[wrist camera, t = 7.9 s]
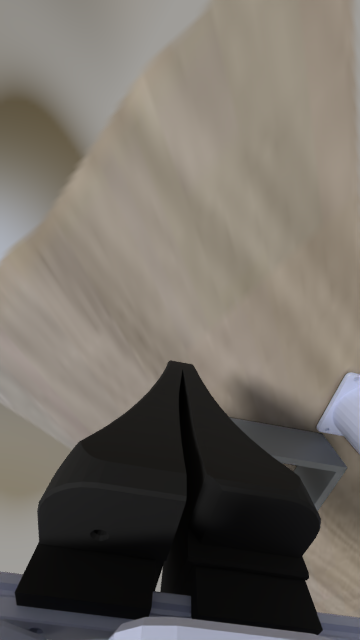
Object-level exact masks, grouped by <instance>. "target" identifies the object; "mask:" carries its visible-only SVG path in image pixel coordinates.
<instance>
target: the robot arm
mask: <svg viewBox="0 0 360 640" xmlns="http://www.w3.org/2000/svg"><path fill="white" fill-rule="evenodd" d="M316 428H317V430H318V431H319V432H324V433H329V434H335V435H341V436H344V437H345V438H346V439H347V440H348V441H349V443H350V444H351V445H352V446H353V447H354V449H355V450H356V451H357V452H358V453H359V454H360V374H357V373H352V372H350V373H347V374H346V375H345V377H344V378H343V380H342V382H341V384H340V385H339V387H338V389H337V391H336V392H335V394H334V396H333V398H332V400H331V401H330V403H329V405H328V407H327V408H326V410H325V412H324V414H323V416H322V417H321V419H320V421H319V423H318V424H317V427H316ZM37 512H38V529H39V543H38V545H37V547H36V549H35V552H34V554H33V556H32V558H31V560H30V562H29V564H28V566H27V568H26V570H25V572H24V574H15V573H8V572H0V640H360V618H358V617H351V616H343V615H335V614H327V613H319V612H316V609H315V606H314V604H313V601H312V598H311V595H310V593H309V590H308V587H307V584H306V582H305V580H307V579H308V578H309V573H308V570H307V567H306V565H305V562H304V560H303V557H302V555H303V554H304V553H305V551H306V550H307V549H308V547H309V546H310V545H311V543H312V542H313V541H314V539H315V538H316V536H317V534H318V532H319V530H320V524H321V518H320V516H319V514H318V511H317V509H316V507H315V505H314V503H313V501H312V499H311V497H310V495H309V493H308V491H307V489H306V487H305V486H304V484H303V482H302V480H301V478H300V476H298V475H297V474H296V473H294V472H293V471H292V470H290V469H289V468H287V467H286V466H285V465H283V464H282V463H281V462H279V461H278V460H276V459H275V458H274V457H272V456H271V455H270V454H268V453H267V452H266V451H265V450H264V449H262V448H261V447H260V446H259V445H258V444H256V443H255V442H254V441H253V440H252V439H251V438H250V437H248V436H247V435H246V434H245V433H244V432H243V431H242V430H241V429H240V428H239V427H238V426H237V425H236V424H235V423H234V422H233V421H232V420H231V419H230V418H229V417H228V415H227V414H226V413H225V412H224V411H223V410H222V409H221V407H220V406H219V405H218V404H217V402H216V401H215V400H214V398H213V397H212V396H211V394H210V393H209V391H208V390H207V388H206V386H205V385H204V383H203V382H202V380H201V378H200V376H199V375H198V373H197V371H196V369H195V367H194V366H193V365H192V364H187V363H181V362H176V361H169V362H168V364H167V367H166V369H165V370H164V372H163V374H162V375H161V377H160V378H159V380H158V381H157V382H156V384H155V385H154V386H153V387H152V388H151V390H150V391H149V392H148V393H147V394H146V395H145V396H144V397H143V398H142V399H141V400H140V401H139V402H138V403H137V404H135V405H134V406H133V407H132V408H131V409H130V410H128V411H127V412H126V413H125V414H123V415H122V416H121V417H119V418H118V419H116V420H115V421H113V422H112V423H110V424H109V425H107V426H106V427H104V428H103V429H101V430H99V431H98V432H96V433H94V434H92V435H90V436H89V437H87V438H85V439H83V440H82V441H80V442H78V444H77V445H76V446H75V447H74V449H73V450H72V451H71V452H70V454H69V455H68V456H67V458H66V459H65V460H64V462H63V463H62V465H61V466H60V467H59V469H58V470H57V472H56V473H55V475H54V477H53V478H52V480H51V482H50V484H49V486H48V487H47V489H46V491H45V493H44V494H43V496H42V498H41V500H40V501H39V505H38V511H37ZM162 567H163V573H162V582H161V592H156V591H155V588H156V585H157V582H158V579H159V576H160V573H161V570H162Z"/></svg>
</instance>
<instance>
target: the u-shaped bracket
mask: <svg viewBox="0 0 360 640" xmlns="http://www.w3.org/2000/svg"><path fill="white" fill-rule="evenodd" d="M229 418H230V417H229ZM230 419H231V420H232V421H233V422H234V423H235V424H236V425H237V426H238V427H239V428H240V429H241V430H242V431H243V432H244V433H245V434H246V435H247V436H248V437H250V438H251V439H252V440H253V441H254V442H255V443H256V444H258V445H259V446H260V447H261V448H262V449H264V450H265V451H266V452H267V453H268V454H270V455H271V456H272V457H274V458H275V459H276V460H278V461H279V462H281V463H285V464H292V465H297V467H296V468H295V470H294V473H296V474H297V475H298V476H300V478H301V480H302V482H303V484H304V486H305V487H306V489H307V491H308V493H309V495H310V497H311V499H312V501H313V503H314V505H315V507H316V509H317V511H318V510H319V508H320V507H321V505H322V504H323V503H324V501H325V500H326V498H327V497H328V495H329V494H330V493H331V491H332V490H333V488H334V487H335V485H336V484H337V482H338V481H339V480H340V478H341V477H342V475H343V474H344V472H345V471H346V469H347V466H346V465H345V464H344V462H343V461H342V460H341V458H340V457H339V455H338V454H337V453H336V451H335V450H334V449H333V447H332V446H331V445H330V443H329V442H328V441H327V439H326V438H325V437H324V435H323V434H322V433H316V432H310V431H304V430H299V429H293V428H287V427H281V426H276V425H270V424H264V423H258V422H253V421H247V420H241V419H236V418H230Z"/></svg>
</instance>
